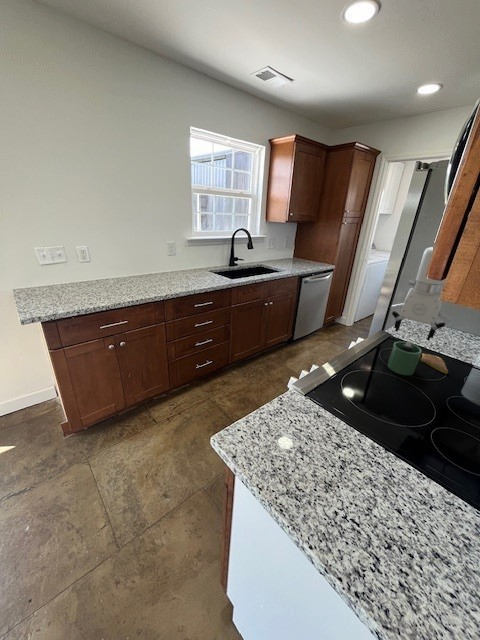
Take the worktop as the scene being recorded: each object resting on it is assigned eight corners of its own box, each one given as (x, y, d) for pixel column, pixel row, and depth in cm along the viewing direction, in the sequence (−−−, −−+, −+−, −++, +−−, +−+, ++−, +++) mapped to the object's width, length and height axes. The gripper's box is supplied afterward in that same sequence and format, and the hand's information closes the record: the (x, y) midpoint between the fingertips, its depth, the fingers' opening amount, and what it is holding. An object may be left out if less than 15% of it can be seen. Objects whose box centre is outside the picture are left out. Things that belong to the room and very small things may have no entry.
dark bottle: (407, 368, 97) (416, 342, 92) (401, 370, 96) (410, 343, 91) (400, 364, 99) (409, 338, 95) (394, 365, 98) (403, 339, 94)
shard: (447, 375, 95) (449, 371, 94) (422, 370, 97) (424, 365, 97) (440, 360, 104) (442, 356, 103) (418, 356, 107) (419, 352, 106)
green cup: (419, 372, 96) (427, 351, 92) (401, 377, 93) (409, 355, 89) (399, 360, 103) (405, 340, 99) (382, 364, 100) (388, 343, 97)
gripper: (395, 284, 88) (382, 330, 95) (460, 295, 78) (441, 346, 84) (400, 279, 93) (387, 324, 100) (461, 290, 83) (443, 338, 90)
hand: (412, 334), depth 92 cm, fingers open, 9 cm apart
